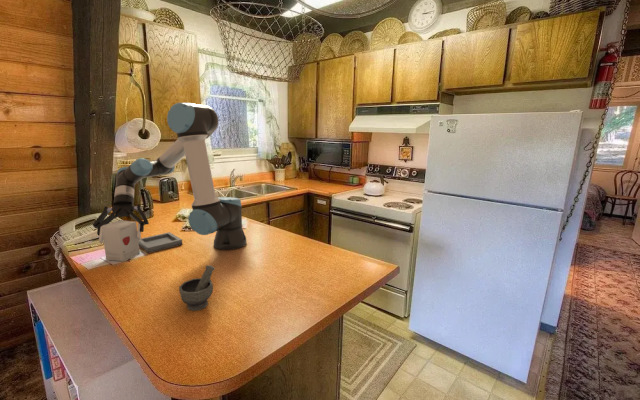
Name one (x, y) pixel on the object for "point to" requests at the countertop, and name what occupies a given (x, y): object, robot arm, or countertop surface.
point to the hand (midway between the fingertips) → (120, 240)
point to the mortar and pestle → (197, 290)
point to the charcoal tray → (159, 242)
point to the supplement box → (120, 240)
